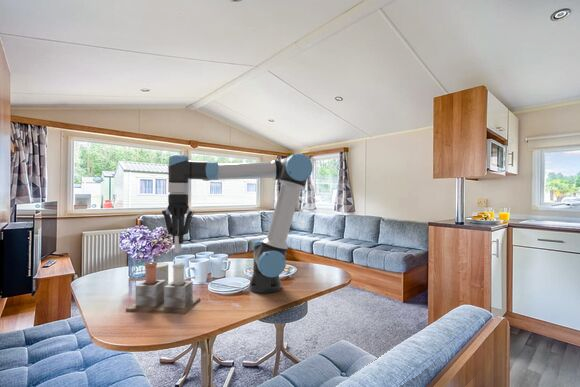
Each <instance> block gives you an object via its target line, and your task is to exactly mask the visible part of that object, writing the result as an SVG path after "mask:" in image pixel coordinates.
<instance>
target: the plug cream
mask: <svg viewBox="0 0 580 387" xmlns="http://www.w3.org/2000/svg"><path fill="white" fill-rule="evenodd" d="M185 265H186V264H185V263H184V262H177V263H173V264H172V268H173V272H172V273H173V276H172V277H173V281H172V282H173V286H183V285H184V281H185V267H186V266H185Z"/></svg>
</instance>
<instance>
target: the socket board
mask: <svg viewBox="0 0 580 387" xmlns="http://www.w3.org/2000/svg"><path fill="white" fill-rule="evenodd" d="M193 282H194V281H193V280H184V285H183V286H173V281H171V282H169V283H168V285H166V286H165V280H156V284H154V285H146V280H144V281H142V282H140V283H138V284H136V285H135V302H134V303H132V304H131V305H129V306H128V307H126V308H125V311H126V312H140V313H141V312H142V313H155V314H175V315H176V314H177V315H185V314H187V313H188V312H189V311H190V310H191V309H192V308H193V307H194V306H195V305H197V304H198V302H200V301H201V297H194V295H193V294H194V293H193V292H194V291H193Z"/></svg>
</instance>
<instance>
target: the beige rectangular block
mask: <svg viewBox="0 0 580 387" xmlns="http://www.w3.org/2000/svg"><path fill="white" fill-rule="evenodd" d="M156 280H165V286H166V285H168V284H169V262H157V265H156Z"/></svg>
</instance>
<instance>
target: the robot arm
mask: <svg viewBox="0 0 580 387" xmlns="http://www.w3.org/2000/svg"><path fill="white" fill-rule="evenodd" d="M167 166H168V167H167V169H168V170H167V171H168V184H167V185H168V190H167V192H168V193H169V194H168V198H167V199H168V201H167V202H168V206H167V208H166V209H163V210H162V211H161V214H162V215H163V217H164V220H165V221H164V222H165V225H166V232H167V234H168V235H171V236H172V244H174V253H177V254H178V253H180V252H182V244H184V236H185V235H187V234H189V230H190V227H191V222H192V219H193V216H194V214H195V211H194V210H192V209H190V207H189V194H188V193H189V180H202V181H218V180H219V181H220V180H246V179H251V180H252V179H273V180H274V181H279V182H280V190H279V194H278V197H277V201H276V204H275V207H274V211H273V214H272V218H271V222H270V225H269V228H268V233H267V235H266V238H264V239H263V240H262V239H261V240H255V241H254V242H253V247H252V249H253V257H252V258H253V266H252V267H253V273H252V275H251V279H250V280H249V281H250V282H249V289H250V291H252V292H253V293H256V294H257V293H258V294H272V293H273V294H274V293H276V292H278V291H280V290H281V289H282V282H281V278H280V275H281V274H282V273H283V272H284V271H285V269H286V266H287V260H286V255H287V252H288V248H289V247H288V246H287V239H288V235H289V231H290V230H291V229H290V228H291V225H292V222H293V217H294V214H295V211H296V207H297V203H298V200H299V197H300V192H301V191H302V190H303V189H305V187H306V185H307V181H308V179H309V178H310V176H311V175H312V173H313V168H314V167H313V163H312V161H311V159H310V158H309V157H308V156H307V155H306V154H303V153H292V154H290V156H287V157H285V158H281V159H273V160H272V161H267V162H266V161H263V162H257V161H256V162H230V163H229V162H228V163H227V162H225V163H219V162H218V161H211V160H208V161H207V160H190V159H189V156H188V155H182V154H172V155H171V154H170V156H168V165H167ZM185 215H186V216H185ZM185 217H186V218H185Z"/></svg>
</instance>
